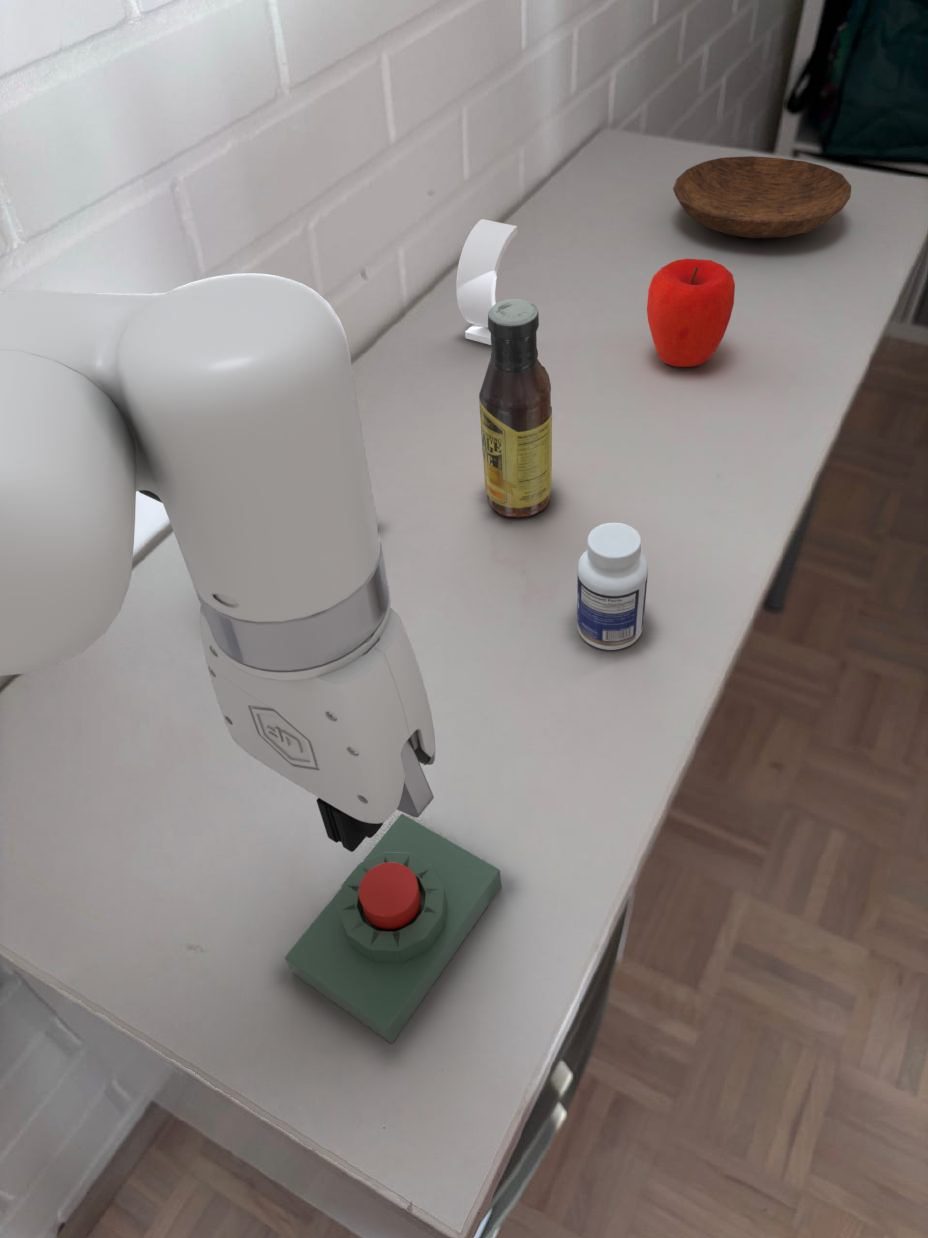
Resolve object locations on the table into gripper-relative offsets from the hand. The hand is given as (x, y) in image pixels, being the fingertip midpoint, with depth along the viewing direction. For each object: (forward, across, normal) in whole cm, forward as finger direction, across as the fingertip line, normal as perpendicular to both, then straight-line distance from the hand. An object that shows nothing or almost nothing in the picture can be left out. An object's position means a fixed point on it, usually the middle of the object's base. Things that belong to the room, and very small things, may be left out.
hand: (358, 825), depth 52 cm
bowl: (+12, -18, +104) cm, 106 cm away
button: (+9, +1, 0) cm, 9 cm away
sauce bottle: (+12, -15, +40) cm, 45 cm away
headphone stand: (+12, -34, +64) cm, 74 cm away
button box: (+13, +1, 0) cm, 13 cm away
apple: (+12, -12, +70) cm, 72 cm away
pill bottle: (+12, 0, +30) cm, 33 cm away
